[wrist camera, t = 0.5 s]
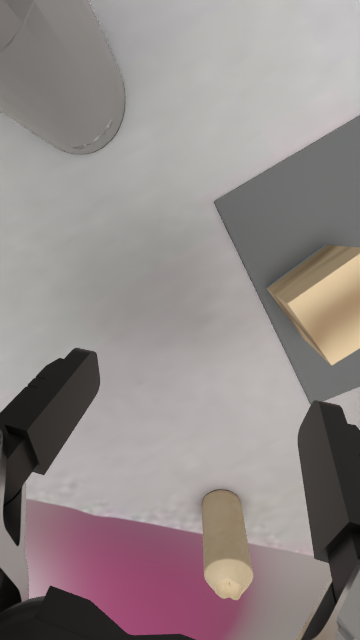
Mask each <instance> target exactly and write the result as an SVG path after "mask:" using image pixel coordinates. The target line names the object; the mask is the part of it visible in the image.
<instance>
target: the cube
mask: <svg viewBox="0 0 360 640" xmlns="http://www.w3.org/2000/svg"><path fill="white" fill-rule="evenodd" d="M266 289H267V290H268V292H269V293H270V294H271V296H272V297H273V299H274V300H275V301H276V303H277V304H278V305H279V307H280V308H281V310H282V311H283V312H284V314H285V315H286V316H287V318H288V319H289V321H290V322H291V323H292V325H293V326H294V327H295V329H296V330H297V332H298V333H299V334H300V336H301V337H302V338H303V339H304V340H305V341H306V342H307V343H308V344H309V345H311V346H312V347H313V348H314V349H315V350H316V351H317V352H318V353H319V354H320V355H321V356H322V357H323V358H324V359H325V360H326V361H327V362H328V363H329V364H331V365H333V364H335V363H337V362H338V361H340V360H342V359H343V358H345V357H346V356H348V355H350V354H351V353H353V352H355V351H356V350H358V349H360V247H347V246H334V245H324V246H323V247H321V248H320V249H319V250H317V251H316V252H314V253H313V254H312V255H310V256H309V257H307V258H306V259H305V260H303V261H302V262H301V263H299V264H298V265H296V266H295V267H294V268H292V269H291V270H290V271H288V272H287V273H285V274H284V275H283V276H281V277H280V278H278V279H277V280H276V281H274V282H273V283H272V284H270V285H269V286H267V287H266Z"/></svg>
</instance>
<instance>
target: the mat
mask: <svg viewBox="0 0 360 640" xmlns="http://www.w3.org/2000/svg"><path fill="white" fill-rule="evenodd" d="M214 203H215V205H216V207H217V210H218V212H219V214H220V216H221V218H222V220H223V222H224V224H225V226H226V228H227V230H228V233H229V235H230V237H231V239H232V241H233V243H234V245H235V247H236V249H237V251H238V253H239V256H240V258H241V260H242V262H243V264H244V266H245V268H246V270H247V272H248V274H249V276H250V279H251V281H252V283H253V285H254V287H255V289H256V291H257V293H258V295H259V297H260V299H261V301H262V304H263V306H264V308H265V310H266V312H267V314H268V316H269V318H270V320H271V322H272V324H273V327H274V329H275V331H276V333H277V335H278V337H279V339H280V341H281V343H282V345H283V347H284V350H285V352H286V354H287V356H288V358H289V360H290V362H291V364H292V366H293V368H294V370H295V373H296V375H297V377H298V379H299V381H300V383H301V385H302V387H303V389H304V391H305V393H306V396H307V398H308V400H309V402H310V404H312V402H313V401H314V400H317V401H325V400H327V399H330V398H332V397H335V396H337V395H340V394H342V393H345V392H347V391H350V390H352V389H355V388H357V387H359V386H360V349H358V350H356V351H355V352H353V353H351V354H350V355H348V356H346V357H345V358H343V359H342V360H340V361H338V362H337V363H335V364H333V365H331V364H329V363H328V362H327V361H326V360H325V359H324V358H323V357H322V356H321V355H320V354H319V353H318V352H317V351H316V350H315V349H314V348H313V347H312V346H311V345H309V344H308V343H307V342H306V341H305V340H304V339H303V338H302V337H301V336H300V334H299V333H298V332H297V330H296V329H295V327H294V326H293V325H292V323H291V322H290V321H289V319H288V318H287V316H286V315H285V314H284V312H283V311H282V310H281V308H280V307H279V305H278V304H277V303H276V301H275V300H274V299H273V297H272V296H271V294H270V293H269V292H268V290H267V289H266V287H267V286H269V285H270V284H272V283H273V282H274V281H276V280H277V279H278V278H280V277H281V276H283V275H284V274H285V273H287V272H288V271H290V270H291V269H292V268H294V267H295V266H296V265H298V264H299V263H301V262H302V261H303V260H305V259H306V258H307V257H309V256H310V255H312V254H313V253H314V252H316V251H317V250H319V249H320V248H321V247H323V246H324V245H334V246H347V247H360V116H359V117H357V118H355V119H354V120H352V121H350V122H348V123H347V124H345V125H343V126H342V127H340V128H338V129H337V130H335V131H333V132H332V133H330V134H328V135H326V136H325V137H323V138H321V139H320V140H318V141H316V142H315V143H313V144H311V145H309V146H308V147H306V148H304V149H303V150H301V151H299V152H298V153H296V154H294V155H293V156H291V157H289V158H287V159H286V160H284V161H282V162H281V163H279V164H277V165H276V166H274V167H272V168H271V169H269V170H267V171H265V172H264V173H262V174H260V175H259V176H257V177H255V178H254V179H252V180H250V181H249V182H247V183H245V184H243V185H242V186H240V187H238V188H237V189H235V190H233V191H232V192H230V193H228V194H226V195H225V196H223V197H221V198H220V199H218V200H216V201H215V202H214Z"/></svg>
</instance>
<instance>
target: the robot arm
mask: <svg viewBox="0 0 360 640" xmlns="http://www.w3.org/2000/svg"><path fill="white" fill-rule="evenodd" d="M124 109H125V91H124V83H123V80H122V77H121V74H120V70H119V68H118V66H117V64H116V62H115V59H114V57H113V55H112V53H111V50H110V48H109V46H108V44H107V41H106V39H105V37H104V35H103V32H102V30H101V28H100V26H99V23H98V21H97V19H96V17H95V15H94V12H93V10H92V8H91V6H90V4H89V1H88V0H0V112H2V113H3V114H5V115H6V116H8V117H10V118H11V119H13V120H14V121H16V122H17V123H19V124H20V125H22V126H24V127H25V128H27V129H28V130H30V131H31V132H33V133H34V134H36V135H37V136H39V137H41V138H42V139H44V140H45V141H47V142H48V143H50V144H52V145H53V146H55V147H57V148H59V149H61V150H63V151H65V152H68V153H72V154H87V153H91V152H95V151H97V150H99V149H100V148H102V147H104V146H105V145H106V144H107V143H108V142H109V141H111V139H112V138H113V136H114V135H115V134H116V132H117V131H118V128H119V126H120V124H121V122H122V118H123V114H124ZM99 386H100V375H99V367H98V359H97V354H96V352H94V351H89V350H85V349H80V348H75V349H73V350H72V351H71V352H70V353H69V354H68V355H67V356H66V358H65V359H62V358H59V359H57V360H55V361H54V362H52V363H50V364H48V365H47V366H45V367H44V369H43V370H42V371H41V372H40V373H39V374H38V375H37V376H36V378H34V379H33V380H32V381H31V382H30V383H29V384H28V386H27V387H25V388H24V389H23V390H22V391H21V392H20V393H19V394H18V395H17V396H16V397H15V398H14V399H13V400H12V401H11V402H10V403H9V404H8V405H7V407H6V408H5V409H4V410H3V411H2V412H1V413H0V640H195V639H192V638H190V637H187V636H184V635H181V634H168V635H167V634H164V635H136V636H135V635H129V634H127V633H126V632H125V631H123V630H122V629H121V628H120V627H119V626H118V625H117V624H116V623H115V622H114V621H112V620H111V619H110V618H109V617H108V616H107V615H106V614H105V613H104V612H102V611H101V610H100V609H99V608H98V607H97V606H96V605H95V604H94V603H92V602H91V601H90V600H88V599H85V598H82V597H80V596H77V595H74V594H72V593H69V592H66V591H63V590H61V589H58V588H55V587H53V586H50V587H49V589H48V591H47V593H46V596H42V597H36V598H32V599H29V575H28V565H27V560H26V555H25V509H26V508H25V507H26V482H25V481H26V480H27V479H28V477H29V476H30V474H31V473H32V472H35V473H38V474H42V475H44V474H45V473H46V471H47V470H48V468H49V467H50V465H51V464H52V462H53V461H54V459H55V458H56V456H57V454H58V453H59V451H60V450H61V448H62V447H63V445H64V444H65V442H66V441H67V439H68V438H69V436H70V435H71V433H72V431H73V430H74V428H75V427H76V425H77V424H78V422H79V421H80V419H81V418H82V416H83V415H84V413H85V411H86V410H87V408H88V407H89V405H90V404H91V402H92V401H93V399H94V398H95V396H96V394H97V392H98V390H99ZM298 449H299V456H300V463H301V470H302V476H303V483H304V490H305V497H306V504H307V510H308V517H309V524H310V531H311V538H312V544H313V551H314V558H315V559H317V560H320V561H324V562H327V563H329V565H330V571H331V578H330V580H329V581H328V583H327V585H326V587H325V588H324V591H323V592H322V594H321V596H320V598H319V600H318V601H317V603H316V605H315V607H314V609H313V611H312V612H311V614H310V616H309V618H308V620H307V622H306V623H305V625H304V627H303V629H302V631H301V633H300V634H299V636H298V638H297V640H360V430H359V429H358V428H357V426H356V425H351V424H347V421H346V418H345V415H344V412H343V410H342V408H341V406H339V405H336V404H331V403H326V402H322V401H317V400H314V401H313V402H312V404H311V406H310V408H309V410H308V412H307V414H306V416H305V418H304V420H303V422H302V424H301V426H300V429H299V433H298Z"/></svg>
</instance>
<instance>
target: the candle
mask: <svg viewBox="0 0 360 640" xmlns="http://www.w3.org/2000/svg"><path fill="white" fill-rule="evenodd" d="M202 521H203V553H204V577H205V580H206V581H207V583H208V584H209V585H210V586H211V588H212V589H213V590H214V591H215V592H216V594H217V595H218V596H220V597H221V598H224V599H225V598H228V597H230V598H232V599H234V600H238V599H239V598H240V596H241V594H242V593H243V592H244V591H245V590H246V589H247V588H248V586H249V585H250V583H251V582H252V580H253V570H252V564H251V559H250V553H249V547H248V541H247V536H246V530H245V524H244V518H243V513H242V507H241V503H240V500H239V498H238V497H237V496H236V495H235V494H234V493H232V492H230V491H226V490H216V491H213V492H210V493H209V494H207V495H206V496H205V498H204V499H203V503H202Z"/></svg>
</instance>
